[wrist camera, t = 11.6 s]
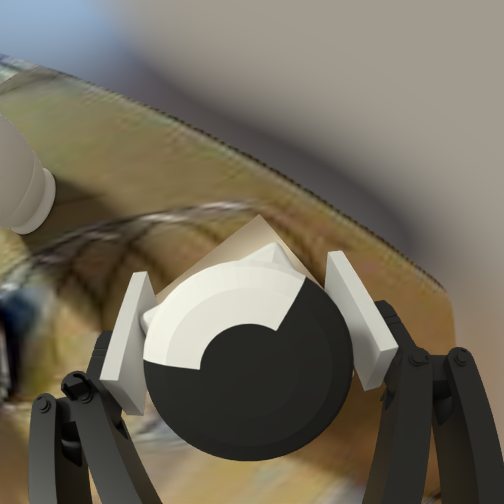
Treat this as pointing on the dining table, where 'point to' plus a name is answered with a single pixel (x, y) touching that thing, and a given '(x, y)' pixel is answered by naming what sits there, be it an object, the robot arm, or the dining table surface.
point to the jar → (22, 183)
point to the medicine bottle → (248, 358)
